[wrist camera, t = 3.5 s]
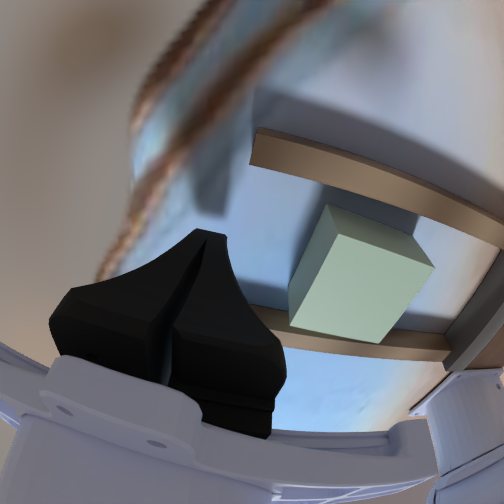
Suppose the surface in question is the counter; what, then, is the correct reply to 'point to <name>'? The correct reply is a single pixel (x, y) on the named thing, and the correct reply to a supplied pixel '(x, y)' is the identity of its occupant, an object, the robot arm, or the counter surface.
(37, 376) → the robot arm
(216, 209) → the counter surface
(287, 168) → the guide channel
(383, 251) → the block
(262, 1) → the counter surface
